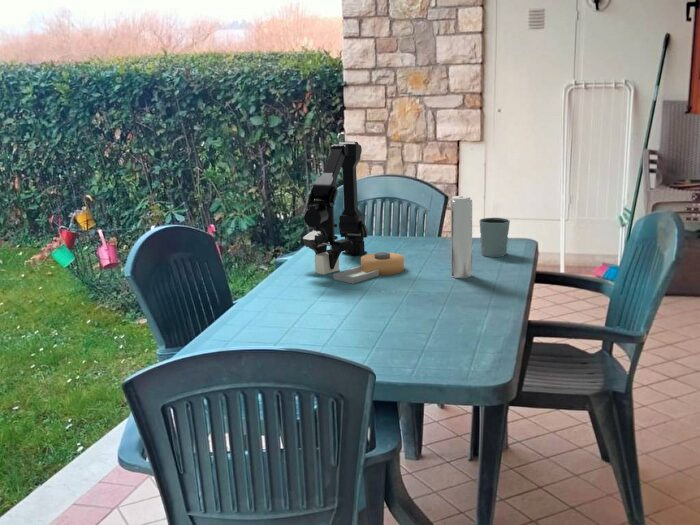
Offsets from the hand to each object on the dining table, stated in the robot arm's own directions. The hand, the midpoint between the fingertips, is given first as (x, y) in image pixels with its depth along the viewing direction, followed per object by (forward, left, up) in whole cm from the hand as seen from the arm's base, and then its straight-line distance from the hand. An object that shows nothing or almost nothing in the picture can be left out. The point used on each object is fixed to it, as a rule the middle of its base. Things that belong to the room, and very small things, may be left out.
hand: (327, 268), depth 263 cm
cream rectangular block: (0, 0, -1) cm, 1 cm away
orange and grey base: (+13, +7, -1) cm, 15 cm away
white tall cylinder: (+38, +22, -1) cm, 44 cm away
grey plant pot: (+30, +52, -1) cm, 60 cm away
